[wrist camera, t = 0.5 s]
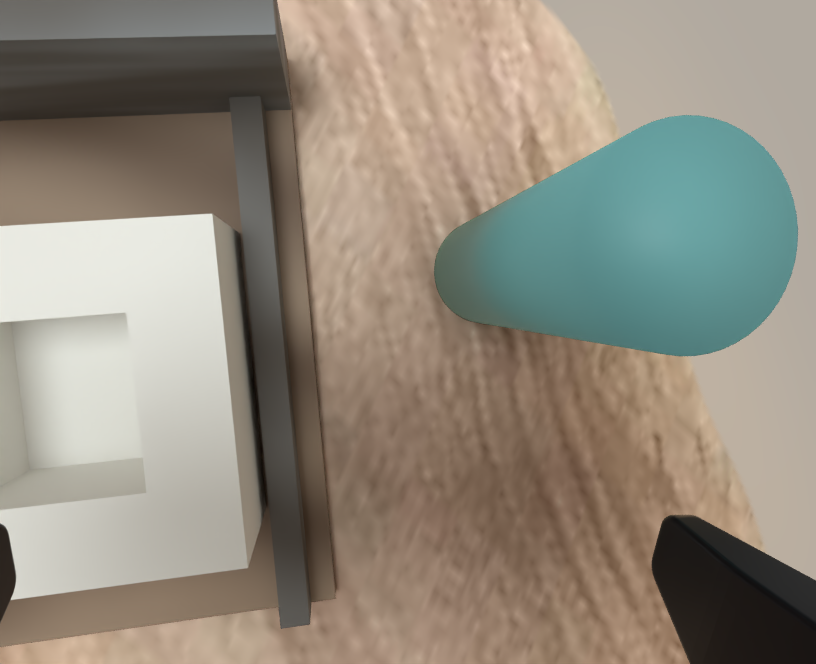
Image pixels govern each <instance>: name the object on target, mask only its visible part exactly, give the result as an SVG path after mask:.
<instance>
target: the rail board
mask: <svg viewBox="0 0 816 664" xmlns="http://www.w3.org/2000/svg"><path fill="white" fill-rule="evenodd" d="M196 214H214V215H215V216H216V217H218V218H219V219H221V220H222V221H223V222H225V223H226V224H227V225H229V226H230V227H232V228H233V229H234V230H236V231H237V232H239V237H240V247H241V257H242V267H243V277H244V288H245V298H246V308H247V318H248V329H249V339H250V349H251V359H252V369H253V380H254V390H255V400H256V410H257V421H258V431H259V441H260V451H261V462H262V472H263V482H264V492H265V502H266V510H265V513H264V516H263V520H262V523H261V526H260V530H259V533H258V536H257V540H256V543H255V546H254V550H253V553H252V556H251V560H250V563H249V566H248V568H245V569H237V570H230V571H223V572H215V573H208V574H200V575H193V576H186V577H178V578H171V579H163V580H156V581H149V582H141V583H134V584H126V585H119V586H112V587H104V588H97V589H89V590H82V591H75V592H67V593H60V594H52V595H45V596H37V597H30V598H23V599H15V600H10V602H9V605H8V607H7V609H6V612H5V614H4V616H3V618H2V621H1V623H0V647H4V646H11V645H18V644H25V643H32V642H39V641H46V640H53V639H60V638H67V637H74V636H80V635H87V634H94V633H101V632H108V631H115V630H122V629H129V628H136V627H143V626H150V625H157V624H164V623H171V622H177V621H184V620H191V619H198V618H205V617H212V616H219V615H226V614H233V613H240V612H247V611H254V610H261V609H268V608H274V607H279V615H280V625H281V629H282V628H289V627H296V626H302V625H309V624H310V616H311V602H316V601H323V600H330V599H335V582H334V571H333V559H332V548H331V537H330V526H329V515H328V504H327V493H326V482H325V471H324V460H323V449H322V438H321V427H320V416H319V404H318V393H317V382H316V371H315V360H314V349H313V338H312V327H311V316H310V305H309V294H308V283H307V272H306V261H305V250H304V238H303V227H302V216H301V205H300V194H299V183H298V172H297V161H296V150H295V139H294V128H293V117H292V106H291V95H290V83H289V72H288V61H287V54H286V49H285V43H284V37H283V32H282V26H281V20H280V15H279V9H278V4H277V0H0V226H11V225H27V224H44V223H61V222H78V221H95V220H112V219H129V218H146V217H162V216H179V215H196Z"/></svg>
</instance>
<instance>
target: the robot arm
mask: <svg viewBox="0 0 816 664" xmlns="http://www.w3.org/2000/svg"><path fill="white" fill-rule="evenodd" d="M652 572H653V576H654V579H655V581H656V584H657V586H658V589H659V591H660V593H661V596H662V598H663V601H664V603H665V605H666V608H667V610H668V613H669V615H670V617H671V620H672V622H673V624H674V627H675V629H676V632H677V634H678V636H679V639H680V641H681V644H682V646H683V648H684V651H685V653H686V655H687V658H688V660H689V663H690V664H816V580H814V579H812V578H810V577H808V576H806V575H804V574H802V573H801V572H799V571H797V570H795V569H793V568H792V567H790V566H788V565H786V564H784V563H782V562H780V561H779V560H777V559H775V558H773V557H771V556H769V555H767V554H765V553H764V552H762V551H760V550H758V549H756V548H754V547H752V546H751V545H749V544H747V543H745V542H743V541H741V540H739V539H738V538H736V537H734V536H732V535H730V534H728V533H726V532H725V531H723V530H721V529H719V528H717V527H715V526H713V525H712V524H710V523H708V522H706V521H704V520H702V519H700V518H699V517H696V516H693V515H670V516H668V517H666V518H665V519H664V520H663V522H662V524H661V528H660V531H659V535H658V539H657V543H656V546H655V550H654V554H653V557H652ZM15 585H16V570H15V565H14V559H13V554H12V549H11V543H10V538H9V533H8V530H7V528H6V527H5V526H4V525H2V524H0V623H1V621H2V618H3V616H4V614H5V612H6V609H7V607H8V605H9V602H10V600H11V598H12V595H13V593H14V589H15Z"/></svg>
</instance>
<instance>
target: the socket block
mask: <svg viewBox="0 0 816 664" xmlns="http://www.w3.org/2000/svg"><path fill="white" fill-rule="evenodd" d="M265 510H266V502H265V492H264V482H263V472H262V462H261V451H260V441H259V431H258V421H257V410H256V400H255V390H254V380H253V369H252V359H251V349H250V339H249V329H248V318H247V308H246V298H245V288H244V277H243V267H242V257H241V247H240V237H239V232H237V231H236V230H234V229H233V228H232V227H230V226H229V225H227V224H226V223H225V222H223V221H222V220H221V219H219V218H218V217H216V216H215V215H214V214H196V215H179V216H162V217H146V218H129V219H112V220H95V221H78V222H61V223H44V224H27V225H11V226H0V524H2V525H4V526H5V527H6V528H7V530H8V533H9V538H10V543H11V549H12V554H13V559H14V565H15V570H16V585H15V589H14V593H13V595H12V598H11V600H15V599H23V598H30V597H37V596H45V595H52V594H60V593H67V592H75V591H82V590H89V589H97V588H104V587H112V586H119V585H126V584H134V583H141V582H149V581H156V580H163V579H171V578H178V577H186V576H193V575H200V574H208V573H215V572H223V571H230V570H237V569H245V568H248V566H249V563H250V560H251V556H252V553H253V550H254V546H255V543H256V540H257V536H258V533H259V530H260V526H261V523H262V520H263V516H264V513H265Z"/></svg>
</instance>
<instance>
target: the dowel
mask: <svg viewBox="0 0 816 664" xmlns="http://www.w3.org/2000/svg"><path fill="white" fill-rule="evenodd" d="M797 241H798V226H797V215H796V210H795V206H794V201H793V197H792V194H791V191H790V188H789V185H788V183H787V181H786V179H785V177H784V175H783V173H782V171H781V169H780V168H779V166H778V165H777V163H776V162H775V160H774V159H773V158H772V156H771V155H770V154H769V153H768V152H767V151H766V150H765V148H764V147H763V146H762V145H760V144H759V143H758V142H757V141H756V140H755V139H754V138H753V137H751V136H750V135H748V134H747V133H745V132H744V131H742V130H741V129H739V128H737V127H735V126H733V125H731V124H729V123H727V122H723V121H720V120H717V119H714V118H708V117H704V116H691V115H690V116H689V115H682V116H674V117H668V118H664V119H660V120H657V121H654V122H651V123H649V124H646V125H644V126H642V127H640V128H638V129H636V130H634V131H632V132H631V133H629V134H627V135H625V136H623V137H621V138H620V139H618V140H616V141H614V142H612V143H611V144H609V145H607V146H605V147H603V148H601V149H600V150H598V151H596V152H594V153H592V154H590V155H589V156H587V157H585V158H583V159H581V160H580V161H578V162H576V163H574V164H572V165H570V166H569V167H567V168H565V169H563V170H561V171H559V172H558V173H556V174H554V175H552V176H550V177H549V178H547V179H545V180H543V181H541V182H539V183H538V184H536V185H534V186H532V187H530V188H528V189H527V190H525V191H523V192H521V193H519V194H517V195H516V196H514V197H512V198H510V199H508V200H507V201H505V202H503V203H501V204H499V205H497V206H496V207H494V208H492V209H490V210H488V211H486V212H485V213H483V214H481V215H479V216H477V217H476V218H474V219H472V220H470V221H468V222H466V223H465V224H463V225H461V226H459V227H458V228H456V229H455V230H454V231H452V232H451V233H450V234H449V235H448V236H447V237H446V239H445V240H444V241H443V243H442V245H441V246H440V248H439V251H438V253H437V256H436V260H435V267H434V276H435V283H436V286H437V290H438V292H439V294H440V296H441V298H442V300H443V301H444V303H445V304H446V305H447V306H448V307H449V308H450V309H451V310H452V311H453V312H454V313H455V314H457V315H458V316H460V317H462V318H464V319H466V320H469V321H472V322H476V323H482V324H488V325H494V326H500V327H506V328H512V329H518V330H524V331H530V332H536V333H541V334H547V335H553V336H559V337H565V338H571V339H577V340H583V341H589V342H595V343H601V344H607V345H612V346H618V347H624V348H630V349H636V350H642V351H648V352H654V353H660V354H666V355H674V356H697V355H703V354H708V353H712V352H715V351H719V350H722V349H724V348H726V347H729V346H730V345H733V344H735V343H737V342H738V341H740V340H741V339H743V338H744V337H746V336H748V335H749V334H750V333H751V332H752V331H754V330H755V329H756V328H757V327H758V326H760V324H761V323H762V322H763V321H764V320H765V319H766V318H767V317H768V316H769V314H770V313H771V312H772V310H773V309H774V308H775V306H776V305H777V304H778V302H779V300H780V298H781V297H782V295H783V293H784V291H785V289H786V287H787V284H788V282H789V279H790V277H791V274H792V270H793V266H794V263H795V258H796V251H797Z"/></svg>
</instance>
